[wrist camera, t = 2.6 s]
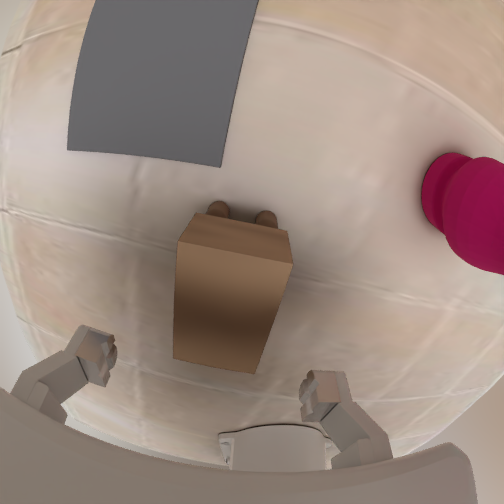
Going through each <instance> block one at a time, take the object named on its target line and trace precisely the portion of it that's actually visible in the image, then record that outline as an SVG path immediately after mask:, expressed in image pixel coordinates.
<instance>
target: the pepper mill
mask: <svg viewBox="0 0 504 504" xmlns="http://www.w3.org/2000/svg"><path fill="white" fill-rule="evenodd" d="M422 205H423V210H424V213H425V215H426V217H427V219H428V220H429V222H430V223H431V224H432V225H434V226H435V227H436V228H437V229H438V230H440V231H441V232H442V233H443V234H445V236H446V239H447V241H448V243H449V246H450V247H451V249H452V250H453V251H454V253H456V254H457V255H458V256H459V257H460V258H462V259H463V260H464V261H465V262H467V263H468V264H470V265H472V266H474V267H477V268H479V269H481V270H485V271H489V272H493V273H498V274H501V275H504V164H503V163H501V162H499V161H497V160H495V159H492V158H488V157H479V158H475V159H472V158H470V157H467V156H464V155H461V154H458V153H447V154H444V155H442V156H441V157H439V158H438V159H437V160H436V161H435V162H434V163H433V164H432V165H431V166H430V168H429V170H428V172H427V173H426V176H425V179H424V182H423V186H422Z"/></svg>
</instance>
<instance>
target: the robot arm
mask: <svg viewBox="0 0 504 504" xmlns="http://www.w3.org/2000/svg"><path fill="white" fill-rule="evenodd" d="M114 341H115V339H114V335H112V334H109V333H106V332H103V331H100V330H97V329H94V328H91V327H88V326H86V325H83V324H82V325H80V326H79V327H78V329H77V330H76V332H75V334H74V335H73V337H72V339H71V340H70V342H69V344H68V345H67V347H66V349H65V351H62V350H61V351H59V352H57V353H56V354H54V355H52V356H50V357H48V358H46V359H44V360H43V361H41V362H39V363H37V364H35V365H34V366H31V367H30V368H28V369H26V370H24V371H22V373H21V375H20V377H19V378H18V380H17V382H16V384H15V386H14V388H13V389H12V391H11V393H8V392H7V391H5V390H4V389H2V388H1V387H0V504H478V503H477V494H476V487H475V481H474V476H473V471H472V467H471V463H470V460H469V458H468V456H467V455H466V454H465V453H464V452H463V451H462V450H460V449H459V448H458V447H457V446H456V445H454V444H453V443H451V442H447V443H443V444H440V445H438V446H435V447H432V448H429V449H426V450H423V451H419V452H416V453H413V454H409V455H405V456H402V457H398V458H394V459H393V455H392V451H391V447H390V443H389V439H388V435H387V434H386V433H385V432H384V431H383V430H382V429H381V428H380V427H379V426H378V425H377V424H376V423H375V422H374V421H373V420H372V419H371V418H370V417H369V416H368V415H367V414H366V413H365V411H364V410H363V409H362V408H361V407H360V406H359V405H358V404H357V403H356V402H352V398H351V394H350V390H349V386H348V382H347V378H346V375H345V373H344V372H343V371H323V370H310V371H309V372H308V374H307V379H305V380H303V382H302V383H301V385H300V389H299V400H300V401H301V402H302V403H303V406H302V407H301V418H302V421H303V422H320V424H321V425H322V427H323V428H324V429H325V431H326V432H327V434H328V435H329V436H330V438H331V439H332V440H333V442H334V443H335V445H336V446H337V447H338V449H339V450H340V451H341V453H339V454H338V455H336V456H335V457H333V458H332V459H331V464H332V469H330V470H326V449H327V448H329V447H331V446H332V440H331V439H328V438H325V437H324V436H323V435H322V433H321V432H320V431H318V430H316V429H313V428H309V427H304V426H294V425H274V426H262V427H255V428H250V429H246V430H243V431H240V432H235V433H222V434H219V435H218V439H219V444H220V447H221V451H222V454H223V457H224V460H225V462H226V463H227V465H230V467H229V470H225V469H216V468H209V467H202V466H195V465H189V464H184V463H179V462H174V461H169V460H165V459H161V458H156V457H153V456H149V455H145V454H141V453H138V452H134V451H131V450H128V449H125V448H122V447H118V446H116V445H113V444H110V443H107V442H104V441H102V440H99V439H97V438H94V437H91V436H89V435H87V434H84V433H82V432H80V431H77V430H75V429H73V428H71V427H69V426H66V425H64V424H65V421H66V418H67V413H66V411H65V410H64V409H63V407H62V406H61V405H60V404H61V403H63V402H64V401H65V400H67V399H68V398H69V397H70V396H72V395H73V394H74V393H76V392H77V391H78V390H80V389H81V388H82V387H83V386H85V385H86V384H87V383H88V382H91V383H94V384H97V385H100V386H103V387H106V385H107V383H108V380H109V378H110V372H109V370H110V369H112V368H113V367H114V366H115V363H116V359H117V347H116V346H115V345H114V344H113V343H114Z"/></svg>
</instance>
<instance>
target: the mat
mask: <svg viewBox="0 0 504 504" xmlns="http://www.w3.org/2000/svg"><path fill="white" fill-rule="evenodd" d="M258 1H259V0H96V1H95V4H94V7H93V9H92V12H91V15H90V18H89V22H88V25H87V28H86V32H85V35H84V39H83V43H82V46H81V51H80V55H79V59H78V64H77V69H76V74H75V79H74V85H73V92H72V99H71V106H70V115H69V126H68V141H67V150H72V151H90V152H104V153H115V154H126V155H136V156H144V157H153V158H161V159H168V160H175V161H182V162H189V163H195V164H201V165H207V166H213V167H219V168H220V167H221V163H222V157H223V152H224V147H225V142H226V136H227V131H228V126H229V121H230V117H231V112H232V107H233V102H234V98H235V93H236V89H237V84H238V80H239V75H240V71H241V67H242V62H243V58H244V54H245V50H246V46H247V42H248V38H249V34H250V30H251V27H252V23H253V19H254V15H255V12H256V8H257V5H258Z"/></svg>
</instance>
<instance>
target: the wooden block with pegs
mask: <svg viewBox="0 0 504 504" xmlns="http://www.w3.org/2000/svg"><path fill="white" fill-rule="evenodd" d="M229 213H230V209H229V207H228V205H227V204H226V203H224V202H222V201H216V202H214V203H212V204H211V205H210V207H209V209H208V211H207V212H206V214H201V213H196V214H195V215H194V217H193V218H192V220H191V221H190V223H189V224H188V226H187V227H186V229H185V231H184V232H183V234H182V235H181V237H180V238H179V240H178V245H177V258H176V274H175V293H174V325H173V358H174V359H178V360H182V361H186V362H191V363H195V364H200V365H205V366H210V367H215V368H220V369H226V370H232V371H238V372H244V373H251V374H255V371H256V369H257V366H258V363H259V361H260V358H261V355H262V353H263V350H264V347H265V345H266V342H267V339H268V336H269V334H270V331H271V328H272V325H273V322H274V320H275V317H276V314H277V311H278V308H279V305H280V302H281V299H282V296H283V294H284V291H285V288H286V285H287V282H288V279H289V276H290V273H291V270H292V267H293V260H292V254H291V249H290V243H289V238H288V233H287V231H285V230H280V229H278V226H277V218H276V216H275V214H274V213H272V212H271V211H262V212H260V213H259V214H258V215H257V217H256V224H251V223H247V222H242V221H237V220H232V219H228V216H229Z"/></svg>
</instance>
